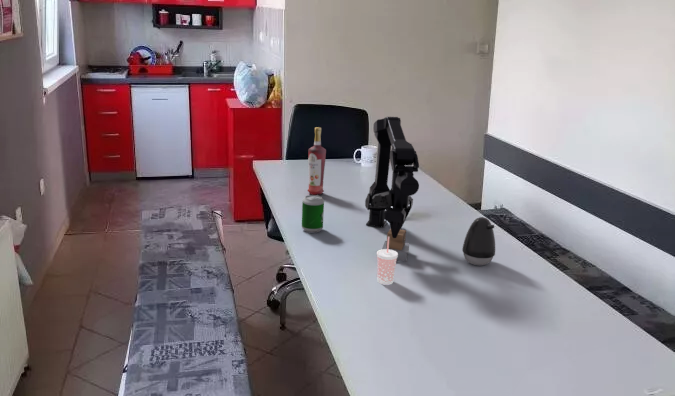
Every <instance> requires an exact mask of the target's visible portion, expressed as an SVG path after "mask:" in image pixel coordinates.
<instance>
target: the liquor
mask: <svg viewBox="0 0 675 396" xmlns="http://www.w3.org/2000/svg"><path fill="white" fill-rule="evenodd" d="M321 136H322V127H320V126H318V127H317V126H316V127H314V142H313V146H311V147H310V148H308V150H307V151H308V157H307V158H308V159H307V160H308V161H307V163H308V189H307V192H308V194H309V195H317V196H320V195H322V194H323V193H324V192H325V190H324V175H325V167H326V154H327V149H326V148H324V147H323V146H322V140H321V138H322V137H321Z"/></svg>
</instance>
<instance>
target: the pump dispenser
mask: <svg viewBox="0 0 675 396" xmlns="http://www.w3.org/2000/svg"><path fill="white" fill-rule="evenodd" d="M494 229H495V225H494V224H492V222H491V221H490V220H489V219H488V218H486V217H483V216H479V217H477V218H475V220H473V222H472V223H471V225H470V226H469V228H468V230H467V232H466V235H465V237H464V240H463V244H462V249H461V250H462V253H463V257H464V259H465V260H466V262H468V264H471V265H474V266H480V267H481V266H485V265H488V264H489V263H491V262H492V260H493V259H494V257H495V256H496V237H495V233H494Z"/></svg>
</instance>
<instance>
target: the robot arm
mask: <svg viewBox="0 0 675 396" xmlns="http://www.w3.org/2000/svg"><path fill="white" fill-rule="evenodd" d="M401 123H402V121H401V117H398V116H386V117H384V118H381V119H380V118H379V119H377V120H376V121H375V122H374V123H373V133H374V137H375V139H376V141H377V153H376V154H377V156H376V164H375V166H376V167H375V176H374V182H373V183H372V184H371V185H370V187H369V192H368V193H367V195H366V197H365V200H364V202H365V203H364V204H365V208H366V209H367V211H369V214H368V221H367V222H366V224H365V225H366V226H371V227H377V228H384V227H385V226H386V224H387V222H388V223H389V226H390V229H391V232H392V237H393V238H396V237H397V235H398V233H399V231H400V229H401V230H402V228H403V226H404V224H405V221H406V220H407V218H408V215H410V212H411V209H412V207H413V203H414V198H413V197H412V196H414V195H416V193H418V191H419V188H420V184H419V181H418V180H417V179H416V177H415V176H414V175H415V174H414V172H415V173H418V172H419V168H420V165H419V156H418V154H417V151H416V150H415V148H414V145H413V144H412V143H410V142H408V141H407V138H406V137H405V133H404V131H403V128H402V125H401ZM390 167H391V171H392V177H391V188H390V187H389V186H388V180H389V173H390V172H389V171H390V170H389V169H390Z"/></svg>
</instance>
